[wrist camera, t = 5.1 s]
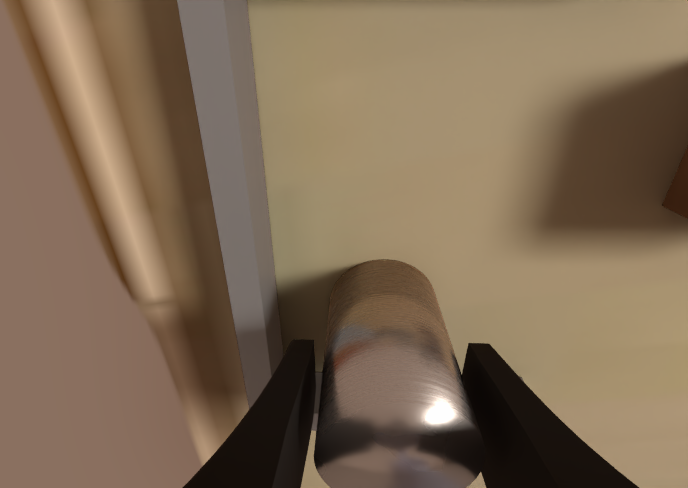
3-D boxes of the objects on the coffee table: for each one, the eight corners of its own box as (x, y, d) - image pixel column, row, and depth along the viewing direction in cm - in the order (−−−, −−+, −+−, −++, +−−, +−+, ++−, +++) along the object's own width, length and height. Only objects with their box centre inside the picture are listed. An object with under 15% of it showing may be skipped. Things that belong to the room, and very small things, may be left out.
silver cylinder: (434, 342, 15) (478, 506, 9) (335, 346, 15) (323, 508, 10) (437, 255, 13) (493, 399, 8) (324, 262, 13) (302, 406, 8)
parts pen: (516, 393, 16) (536, 436, 14) (264, 387, 16) (252, 428, 14) (668, -90, 8) (751, -126, 7) (196, -86, 9) (155, -120, 7)
